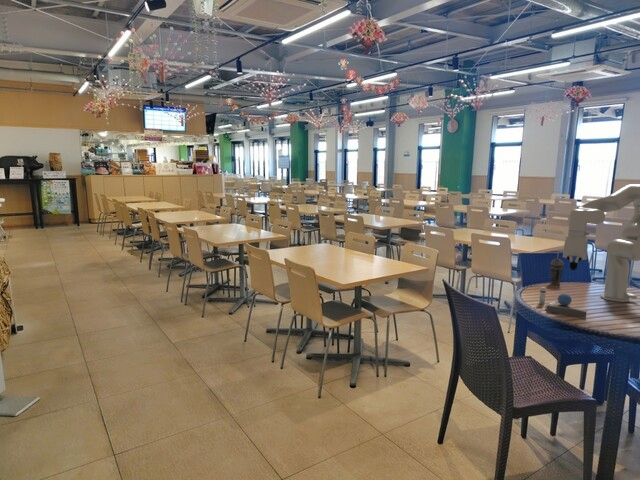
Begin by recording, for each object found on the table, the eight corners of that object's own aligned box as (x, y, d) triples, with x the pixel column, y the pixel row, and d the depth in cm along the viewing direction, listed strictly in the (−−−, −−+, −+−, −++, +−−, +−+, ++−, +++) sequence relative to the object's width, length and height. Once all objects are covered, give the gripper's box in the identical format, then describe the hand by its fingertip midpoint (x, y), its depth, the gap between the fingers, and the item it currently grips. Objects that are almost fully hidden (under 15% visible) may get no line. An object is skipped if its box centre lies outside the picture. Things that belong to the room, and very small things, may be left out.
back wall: (585, 317, 197) (586, 310, 197) (585, 318, 196) (586, 312, 195) (547, 310, 207) (547, 304, 206) (546, 311, 205) (546, 305, 205)
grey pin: (545, 303, 217) (546, 287, 216) (544, 304, 215) (545, 288, 214) (539, 302, 219) (541, 286, 217) (538, 304, 217) (540, 287, 215)
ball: (568, 295, 210) (573, 306, 210) (568, 290, 214) (573, 300, 215) (555, 298, 213) (560, 309, 214) (555, 293, 218) (561, 303, 219)
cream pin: (556, 306, 213) (550, 310, 207) (550, 305, 214) (544, 309, 209) (556, 301, 212) (550, 305, 206) (551, 300, 214) (545, 304, 208)
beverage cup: (548, 284, 255) (551, 251, 252) (548, 281, 261) (551, 249, 258) (562, 286, 252) (565, 252, 249) (562, 283, 258) (565, 250, 255)
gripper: (595, 234, 213) (591, 270, 216) (561, 231, 222) (557, 266, 225) (593, 236, 207) (589, 273, 210) (558, 233, 216) (555, 269, 219)
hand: (573, 269), depth 217 cm, fingers closed
